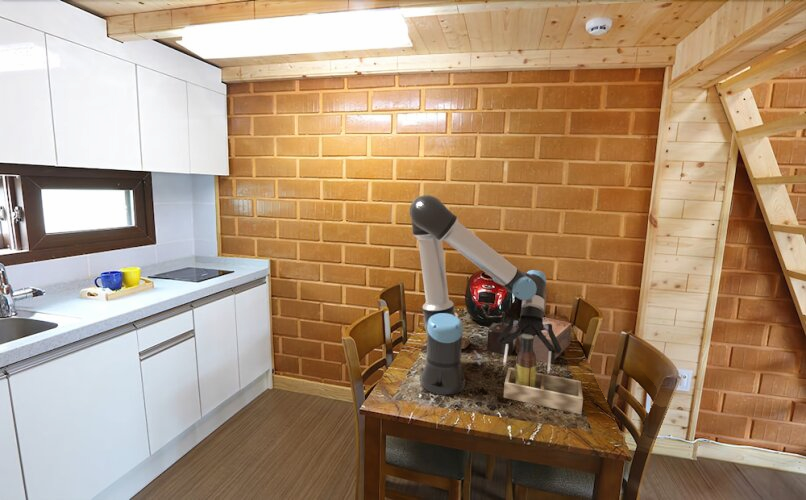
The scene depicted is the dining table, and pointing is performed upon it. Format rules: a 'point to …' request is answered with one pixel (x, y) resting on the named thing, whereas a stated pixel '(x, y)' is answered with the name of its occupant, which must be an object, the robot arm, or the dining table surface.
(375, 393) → the dining table surface
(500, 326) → the manual coffee grinder
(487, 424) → the dining table surface
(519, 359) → the sauce bottle
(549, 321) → the tissue box cover
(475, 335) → the dining table surface
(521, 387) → the birch caddy
